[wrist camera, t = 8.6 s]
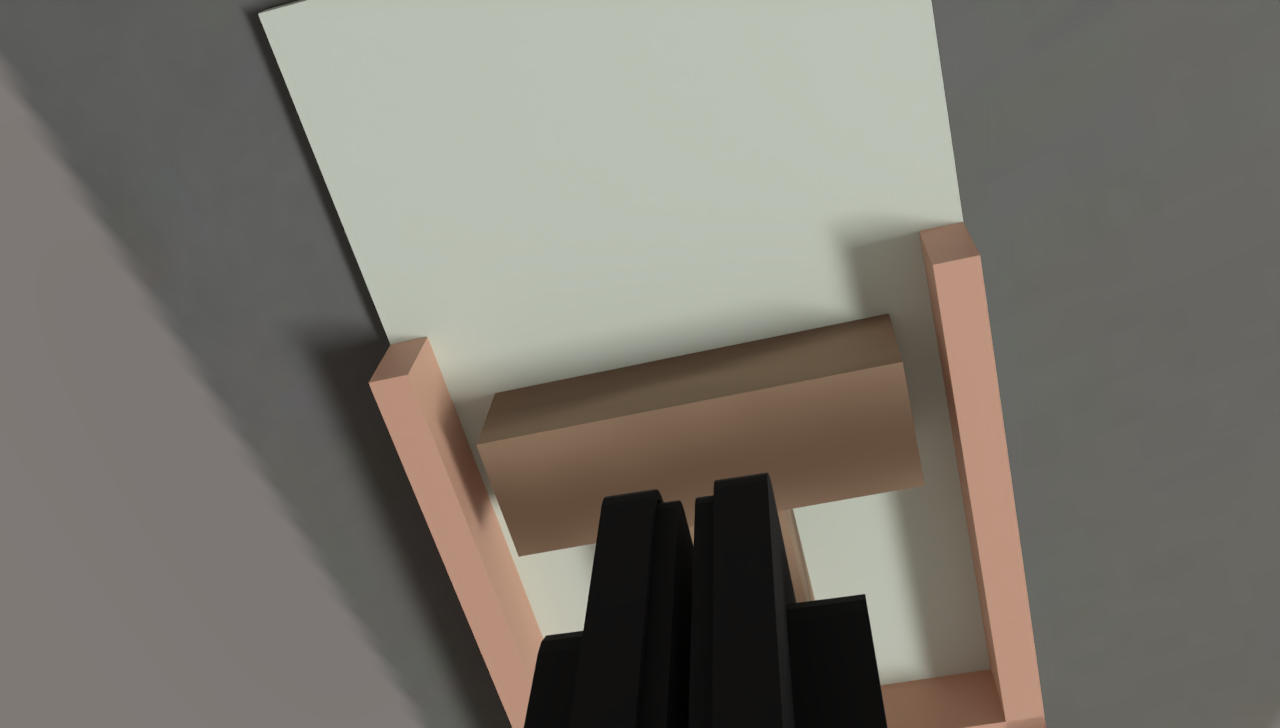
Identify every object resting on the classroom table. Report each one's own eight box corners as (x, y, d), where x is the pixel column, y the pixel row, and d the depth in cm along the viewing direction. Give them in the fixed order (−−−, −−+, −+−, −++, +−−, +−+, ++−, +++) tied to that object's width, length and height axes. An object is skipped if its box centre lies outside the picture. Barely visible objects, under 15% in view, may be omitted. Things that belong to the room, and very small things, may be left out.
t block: (495, 393, 35) (475, 444, 33) (888, 313, 33) (902, 362, 30) (600, 684, 40) (592, 749, 38) (946, 632, 38) (962, 696, 36)
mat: (265, 9, 31) (257, 13, 30) (903, -167, 28) (907, -165, 27) (562, 757, 43) (560, 769, 42) (1028, 691, 40) (1032, 703, 39)
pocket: (390, 344, 35) (368, 382, 33) (963, 222, 32) (979, 255, 30) (556, 757, 42) (546, 810, 40) (1030, 690, 39) (1048, 743, 37)
